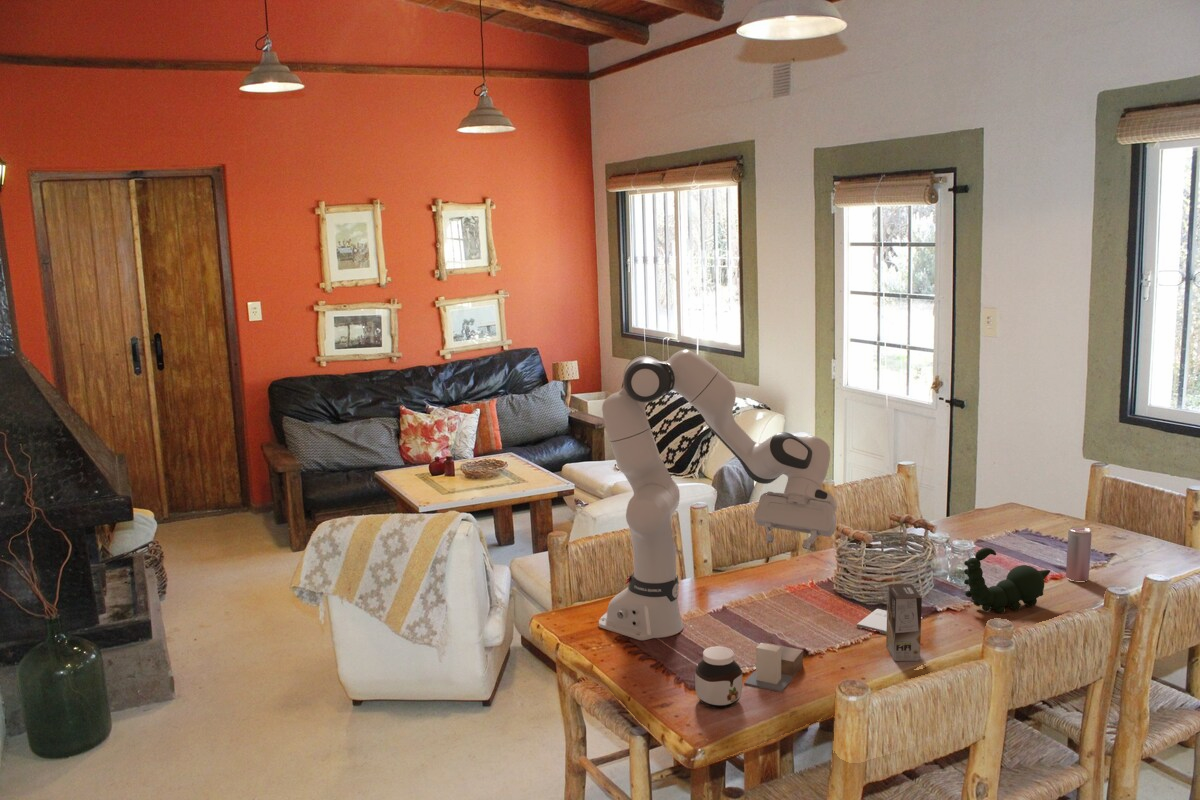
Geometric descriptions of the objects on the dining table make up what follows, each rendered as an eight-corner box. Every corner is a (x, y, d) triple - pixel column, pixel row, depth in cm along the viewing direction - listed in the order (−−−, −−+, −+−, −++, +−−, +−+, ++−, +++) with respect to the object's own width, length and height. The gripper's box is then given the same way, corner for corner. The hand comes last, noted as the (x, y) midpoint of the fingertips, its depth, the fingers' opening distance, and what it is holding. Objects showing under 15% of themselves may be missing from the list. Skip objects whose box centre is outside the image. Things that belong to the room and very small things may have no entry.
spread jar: (708, 714, 222) (708, 664, 220) (682, 692, 232) (681, 644, 230) (754, 701, 227) (754, 652, 225) (727, 680, 237) (727, 633, 235)
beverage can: (1062, 575, 294) (1065, 526, 291) (1084, 576, 293) (1087, 526, 290) (1069, 583, 288) (1072, 532, 285) (1091, 583, 288) (1094, 533, 285)
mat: (744, 684, 235) (744, 682, 235) (756, 670, 242) (756, 668, 242) (781, 692, 230) (781, 690, 230) (793, 677, 237) (793, 676, 237)
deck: (756, 670, 242) (756, 654, 241) (767, 658, 248) (767, 643, 247) (793, 677, 237) (793, 661, 236) (802, 665, 243) (803, 649, 242)
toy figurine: (980, 626, 266) (1062, 605, 272) (977, 558, 262) (1061, 539, 268) (959, 612, 275) (1039, 593, 281) (956, 546, 271) (1037, 528, 276)
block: (756, 679, 236) (756, 647, 234) (760, 674, 238) (760, 642, 237) (776, 684, 233) (776, 651, 232) (781, 678, 236) (781, 646, 234)
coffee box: (921, 661, 244) (923, 598, 240) (894, 661, 244) (895, 598, 241) (910, 644, 253) (912, 583, 249) (884, 645, 253) (886, 584, 250)
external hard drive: (856, 629, 264) (876, 613, 273) (886, 637, 259) (905, 620, 268) (856, 623, 263) (876, 607, 273) (886, 631, 258) (905, 614, 268)
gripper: (759, 484, 259) (744, 532, 252) (838, 495, 248) (824, 545, 242) (765, 496, 263) (750, 544, 257) (843, 508, 253) (829, 557, 247)
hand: (786, 544), depth 249 cm, fingers open, 8 cm apart
